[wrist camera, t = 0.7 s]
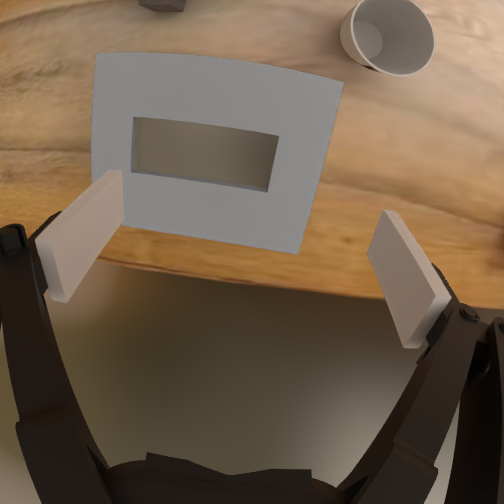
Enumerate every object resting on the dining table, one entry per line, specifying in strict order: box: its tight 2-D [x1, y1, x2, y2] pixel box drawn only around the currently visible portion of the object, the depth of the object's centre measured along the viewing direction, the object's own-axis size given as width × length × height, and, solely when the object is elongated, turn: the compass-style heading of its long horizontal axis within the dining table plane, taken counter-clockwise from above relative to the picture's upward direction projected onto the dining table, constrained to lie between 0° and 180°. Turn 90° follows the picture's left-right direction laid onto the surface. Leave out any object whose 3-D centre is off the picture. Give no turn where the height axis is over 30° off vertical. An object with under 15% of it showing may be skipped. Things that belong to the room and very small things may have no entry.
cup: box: [340, 0, 436, 77], centre depth 24 cm, size 8×8×10 cm
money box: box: [91, 52, 344, 254], centre depth 30 cm, size 16×20×12 cm
